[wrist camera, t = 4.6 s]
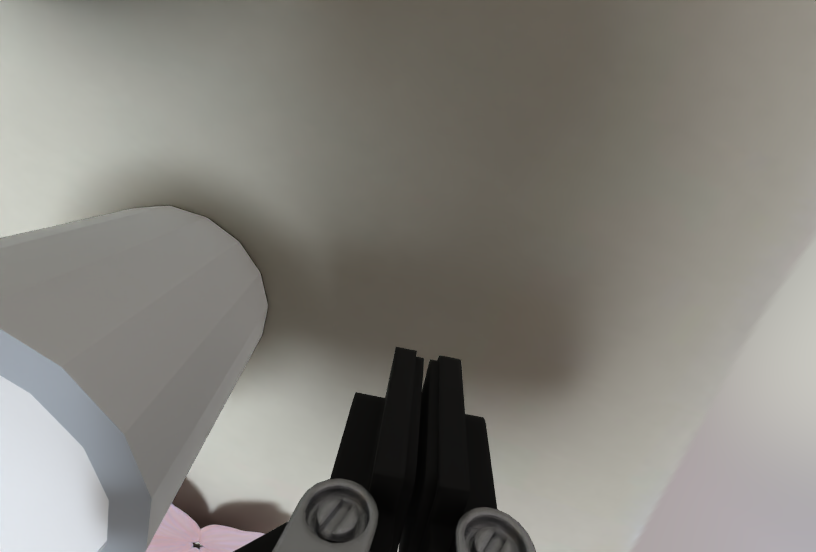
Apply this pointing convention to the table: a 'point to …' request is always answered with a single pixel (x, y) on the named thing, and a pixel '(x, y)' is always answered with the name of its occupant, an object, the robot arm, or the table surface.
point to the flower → (196, 535)
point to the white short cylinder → (114, 371)
